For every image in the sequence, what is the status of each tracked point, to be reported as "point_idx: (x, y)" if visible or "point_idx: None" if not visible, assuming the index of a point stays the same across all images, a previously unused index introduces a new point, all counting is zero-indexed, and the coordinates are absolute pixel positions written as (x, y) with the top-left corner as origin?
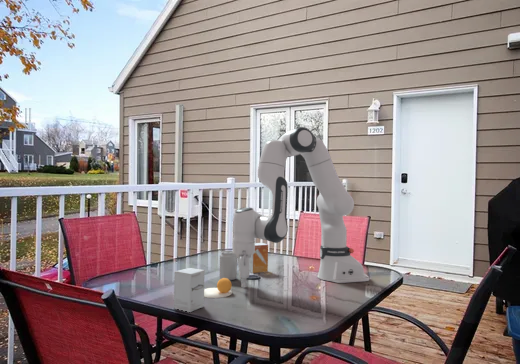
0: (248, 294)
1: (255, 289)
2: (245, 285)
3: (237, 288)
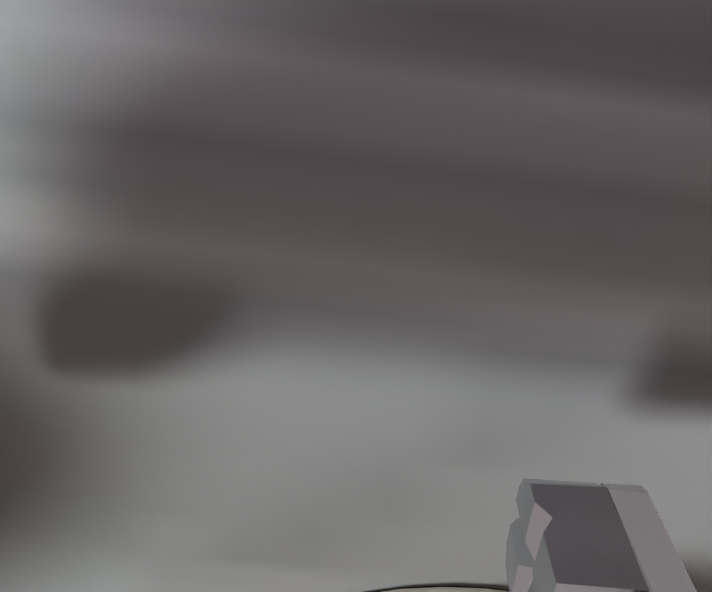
0: (709, 330)
1: (272, 91)
2: (657, 531)
3: (185, 481)
